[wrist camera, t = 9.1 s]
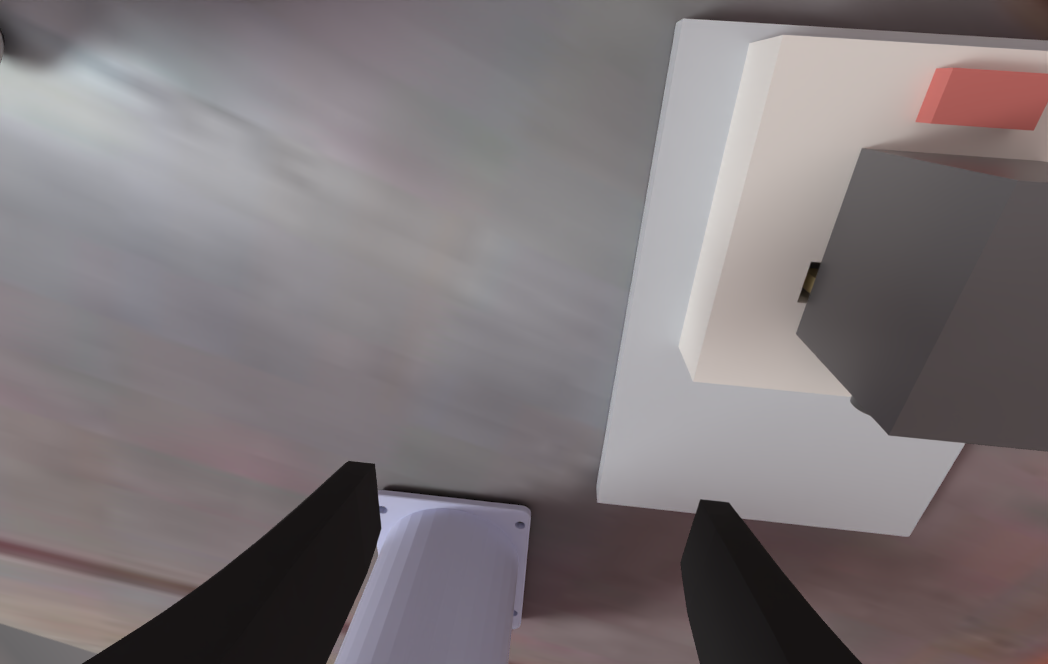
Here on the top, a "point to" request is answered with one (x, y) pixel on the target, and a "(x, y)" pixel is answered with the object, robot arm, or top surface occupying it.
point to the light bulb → (1, 45)
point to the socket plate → (831, 178)
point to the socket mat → (725, 410)
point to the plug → (939, 297)
